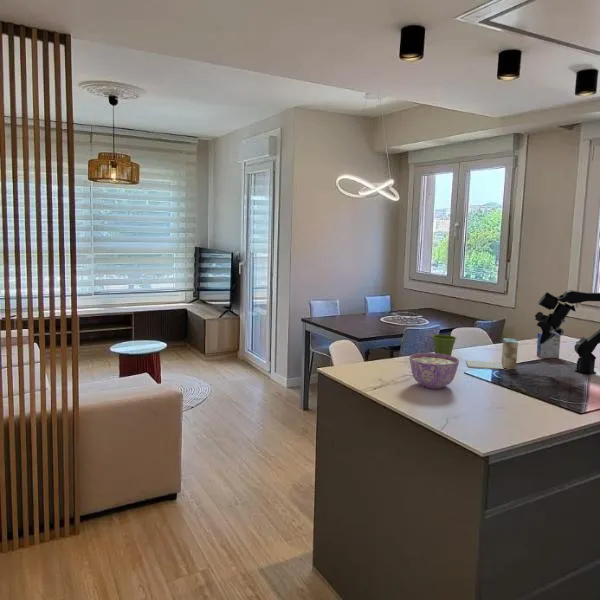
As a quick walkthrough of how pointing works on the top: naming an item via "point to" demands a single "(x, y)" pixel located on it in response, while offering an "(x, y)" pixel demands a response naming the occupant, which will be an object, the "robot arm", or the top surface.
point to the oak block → (509, 353)
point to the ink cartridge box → (548, 347)
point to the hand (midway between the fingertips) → (540, 343)
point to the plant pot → (443, 344)
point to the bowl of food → (433, 369)
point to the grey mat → (484, 364)
